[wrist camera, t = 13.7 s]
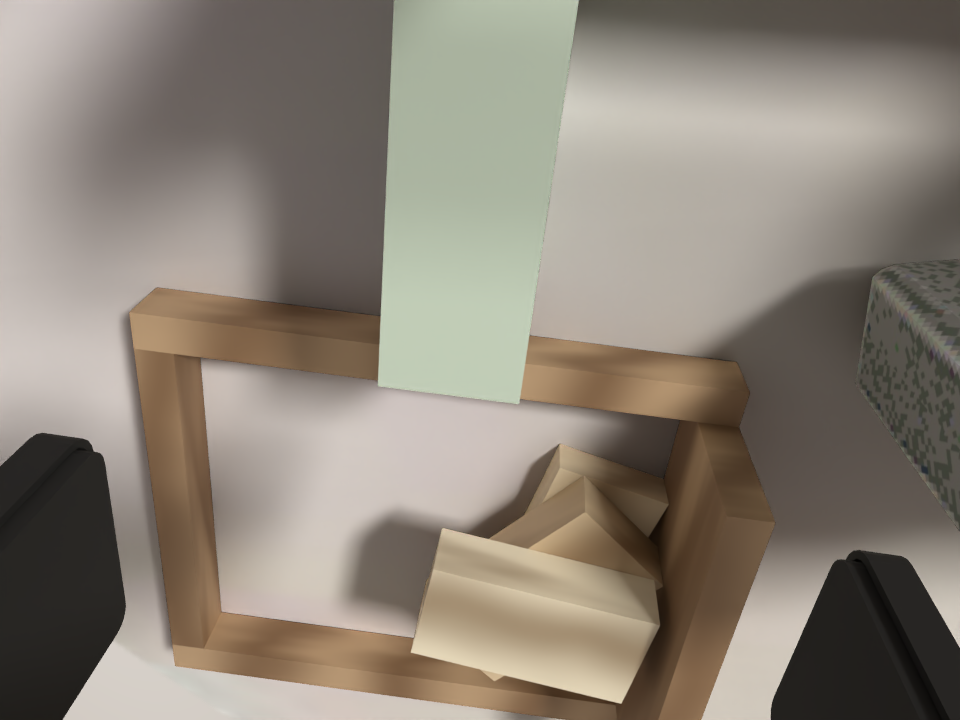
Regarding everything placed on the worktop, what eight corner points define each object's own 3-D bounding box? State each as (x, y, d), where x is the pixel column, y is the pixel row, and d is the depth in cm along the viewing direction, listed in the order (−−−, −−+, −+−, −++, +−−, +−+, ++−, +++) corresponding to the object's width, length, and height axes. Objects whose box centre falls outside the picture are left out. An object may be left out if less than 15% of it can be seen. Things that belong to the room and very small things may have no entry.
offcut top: (618, 656, 34) (621, 703, 32) (420, 608, 34) (410, 652, 32) (654, 580, 32) (660, 625, 30) (442, 527, 32) (433, 569, 30)
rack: (736, 362, 32) (790, 484, 25) (636, 689, 41) (654, 843, 34) (156, 287, 32) (46, 386, 25) (193, 629, 42) (122, 769, 35)
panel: (587, -156, 24) (609, -208, 15) (527, 269, 30) (518, 403, 22) (457, -171, 24) (403, -231, 15) (426, 256, 30) (377, 386, 22)
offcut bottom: (661, 470, 35) (668, 504, 33) (576, 614, 40) (577, 652, 38) (559, 435, 35) (559, 467, 33) (485, 585, 40) (481, 622, 37)
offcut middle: (657, 546, 34) (663, 586, 32) (498, 640, 38) (494, 681, 36) (584, 475, 33) (585, 511, 31) (426, 580, 36) (417, 619, 34)
